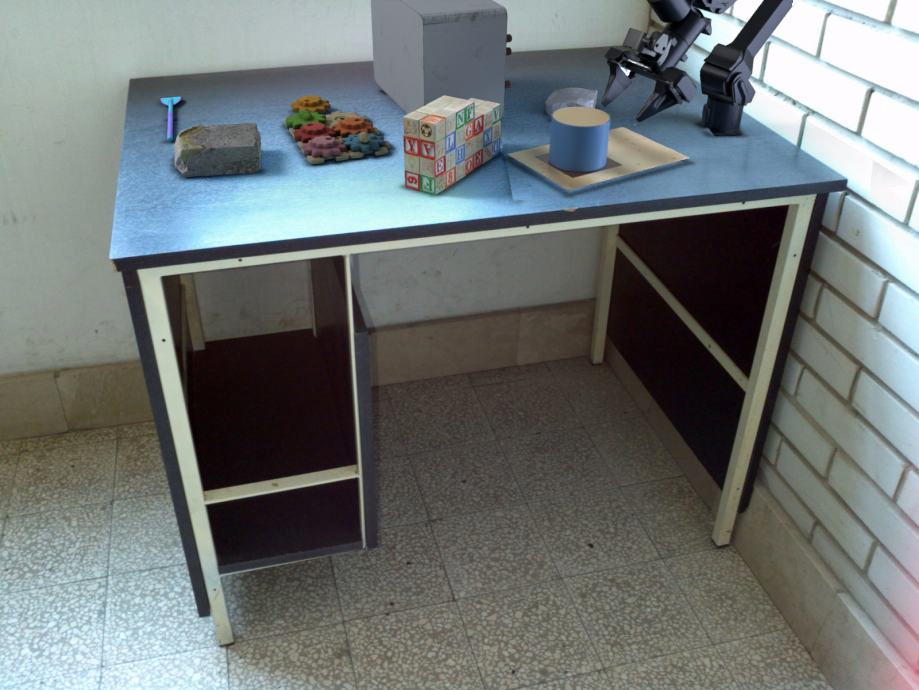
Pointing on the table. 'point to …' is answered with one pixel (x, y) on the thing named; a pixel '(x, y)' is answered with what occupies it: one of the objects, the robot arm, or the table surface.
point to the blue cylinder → (579, 139)
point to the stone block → (570, 99)
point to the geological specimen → (218, 150)
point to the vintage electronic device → (440, 50)
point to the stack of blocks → (449, 141)
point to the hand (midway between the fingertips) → (619, 113)
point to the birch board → (622, 159)
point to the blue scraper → (170, 114)
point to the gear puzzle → (332, 132)
